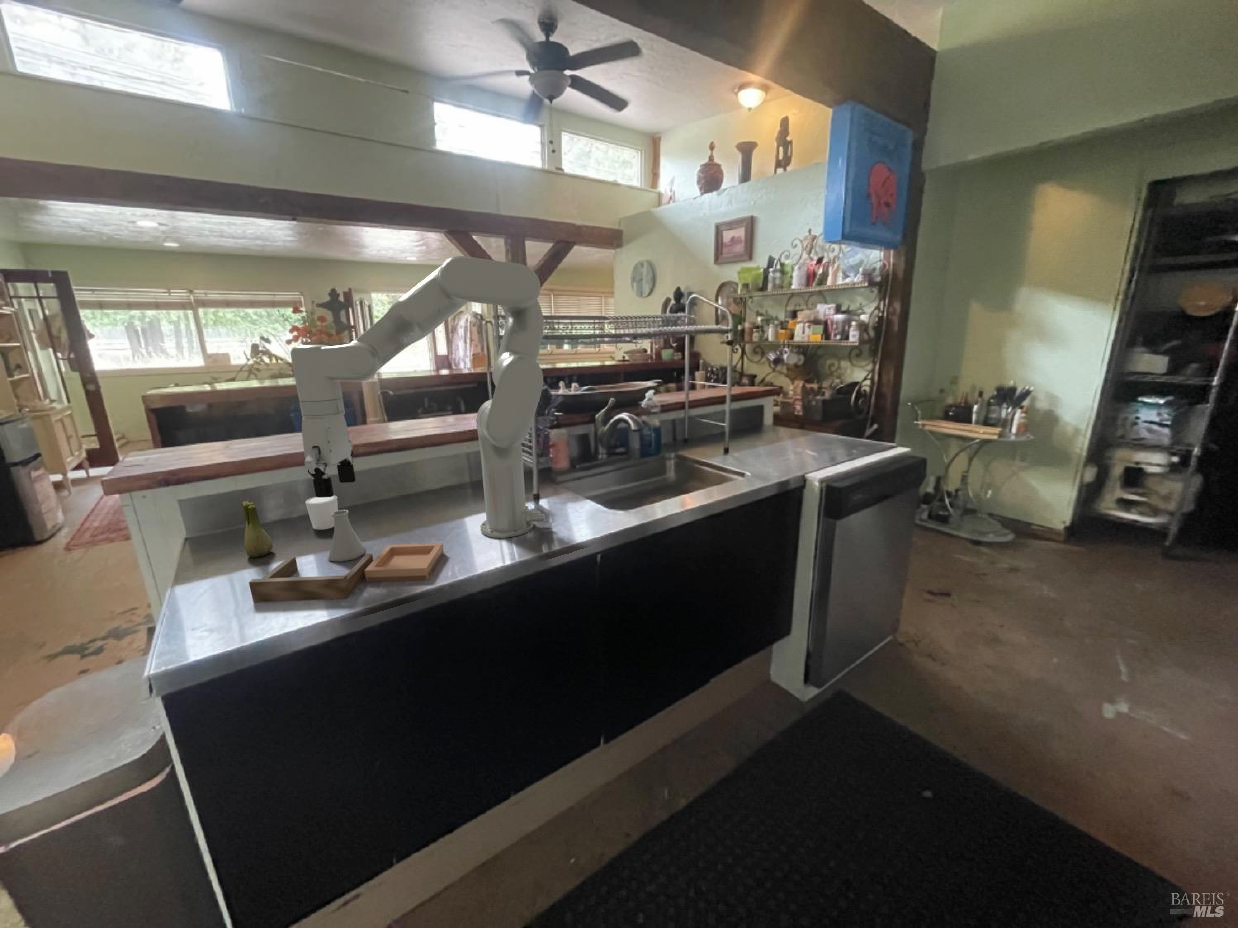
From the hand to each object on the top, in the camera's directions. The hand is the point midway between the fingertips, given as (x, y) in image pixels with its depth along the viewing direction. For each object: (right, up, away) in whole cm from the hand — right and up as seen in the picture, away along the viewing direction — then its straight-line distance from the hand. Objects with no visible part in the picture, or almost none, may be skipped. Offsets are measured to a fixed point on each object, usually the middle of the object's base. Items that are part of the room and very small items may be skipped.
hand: (337, 489), depth 104 cm
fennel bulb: (-19, -15, +5) cm, 25 cm away
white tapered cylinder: (-14, -10, +21) cm, 27 cm away
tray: (+16, -16, -2) cm, 22 cm away
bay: (+1, -18, -8) cm, 20 cm away
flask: (0, -15, +4) cm, 15 cm away
